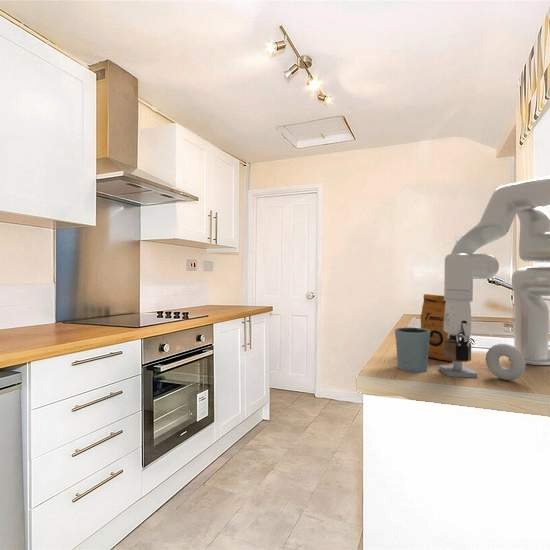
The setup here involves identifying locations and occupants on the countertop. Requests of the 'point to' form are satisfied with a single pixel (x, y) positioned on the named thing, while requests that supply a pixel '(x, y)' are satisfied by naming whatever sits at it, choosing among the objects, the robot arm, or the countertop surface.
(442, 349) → the coffee package
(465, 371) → the peg stand
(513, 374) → the donut
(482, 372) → the countertop surface
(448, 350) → the ring
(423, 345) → the blue grey cup
